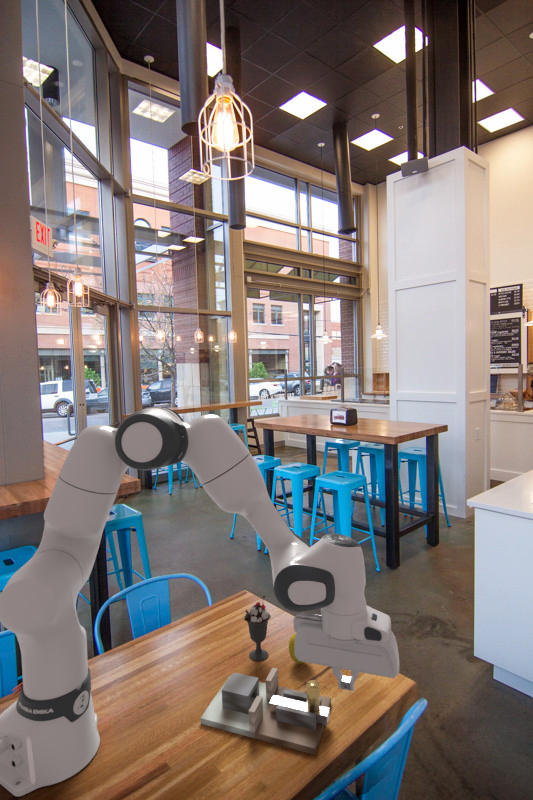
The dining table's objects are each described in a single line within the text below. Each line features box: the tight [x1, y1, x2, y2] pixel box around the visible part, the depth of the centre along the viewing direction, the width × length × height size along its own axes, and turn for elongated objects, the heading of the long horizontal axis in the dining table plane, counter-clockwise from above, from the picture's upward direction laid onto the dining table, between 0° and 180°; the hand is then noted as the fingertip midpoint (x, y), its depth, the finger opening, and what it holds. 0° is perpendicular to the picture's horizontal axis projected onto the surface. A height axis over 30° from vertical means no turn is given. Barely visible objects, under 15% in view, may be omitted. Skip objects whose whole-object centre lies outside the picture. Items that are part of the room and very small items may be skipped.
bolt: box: [270, 679, 331, 726], centre depth 89 cm, size 12×3×7 cm, turn 70°
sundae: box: [243, 595, 272, 662], centre depth 112 cm, size 7×7×15 cm
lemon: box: [288, 632, 305, 665], centre depth 108 cm, size 6×6×8 cm
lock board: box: [199, 667, 332, 756], centre depth 92 cm, size 24×14×5 cm, turn 70°
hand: (346, 687), depth 86 cm, fingers closed
